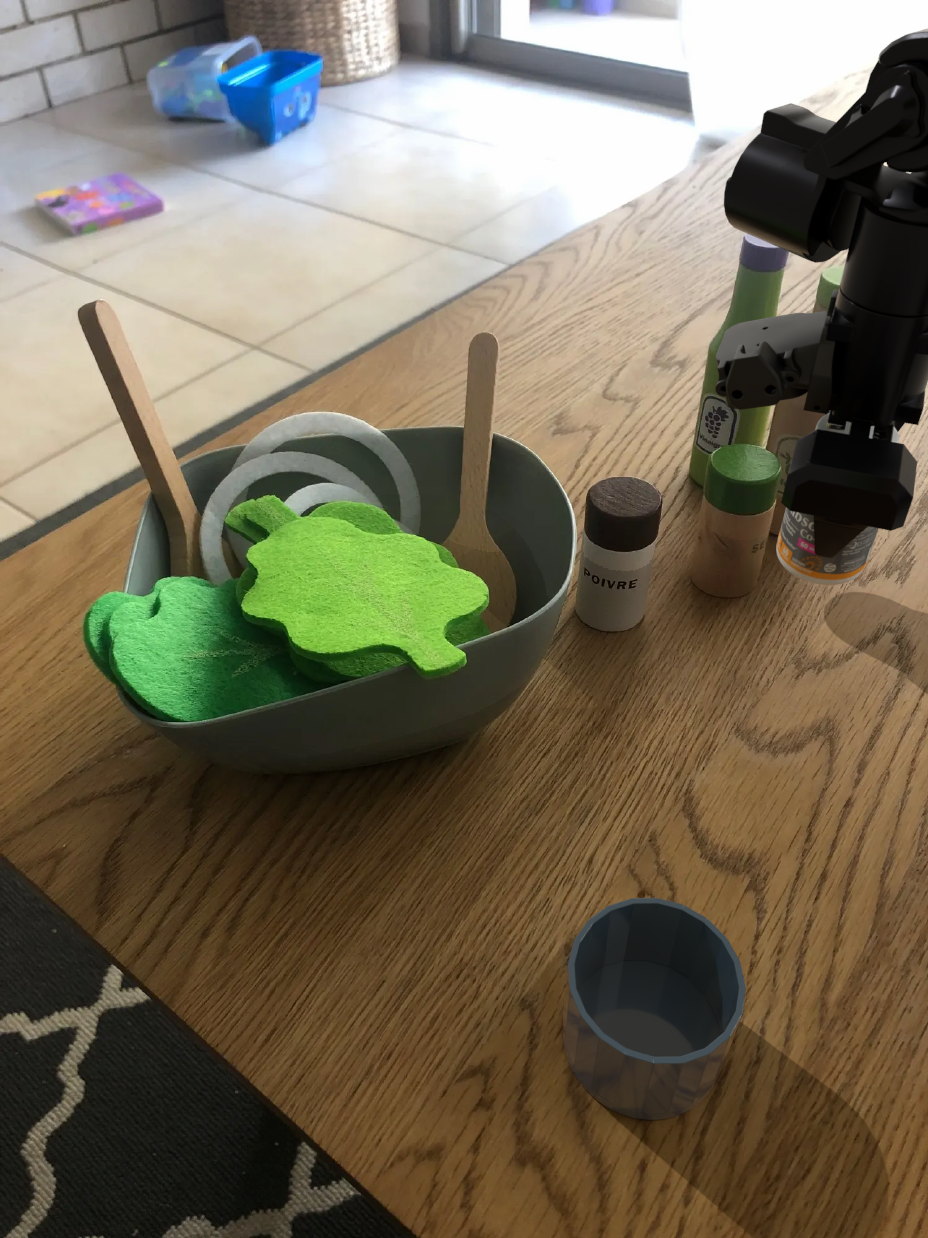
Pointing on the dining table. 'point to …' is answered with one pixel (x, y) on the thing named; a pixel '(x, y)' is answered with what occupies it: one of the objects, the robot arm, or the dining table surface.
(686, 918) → the pot
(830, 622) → the dining table surface
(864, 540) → the pill bottle
